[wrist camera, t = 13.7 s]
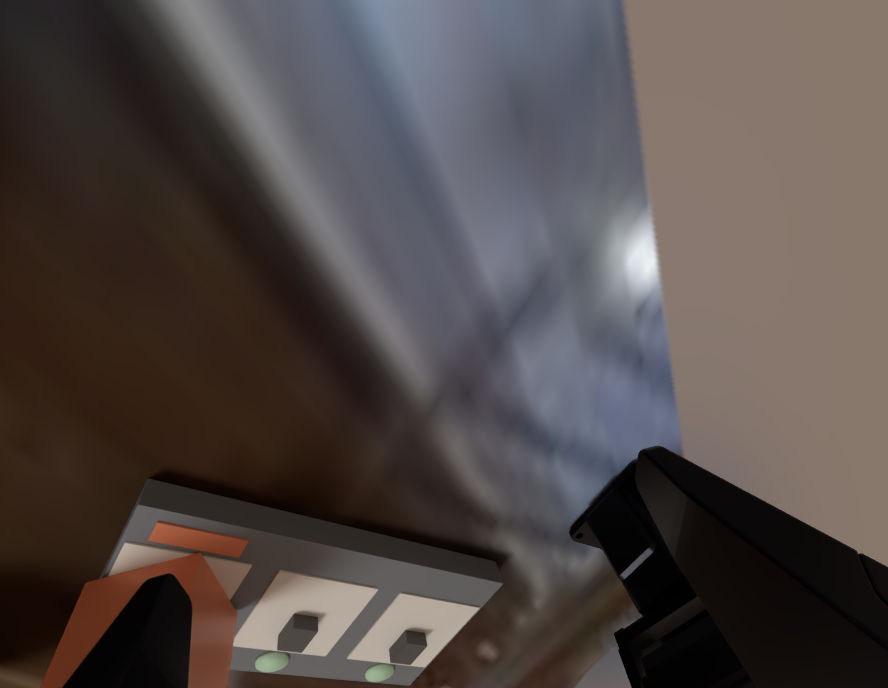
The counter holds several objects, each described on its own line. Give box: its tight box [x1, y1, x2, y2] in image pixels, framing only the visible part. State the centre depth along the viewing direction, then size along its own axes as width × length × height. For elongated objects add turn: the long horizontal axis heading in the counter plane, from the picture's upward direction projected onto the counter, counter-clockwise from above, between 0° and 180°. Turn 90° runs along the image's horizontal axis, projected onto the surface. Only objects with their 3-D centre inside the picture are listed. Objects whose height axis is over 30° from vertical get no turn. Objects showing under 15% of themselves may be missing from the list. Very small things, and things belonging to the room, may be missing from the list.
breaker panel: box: [99, 479, 503, 686], centre depth 27 cm, size 20×11×2 cm, turn 57°
